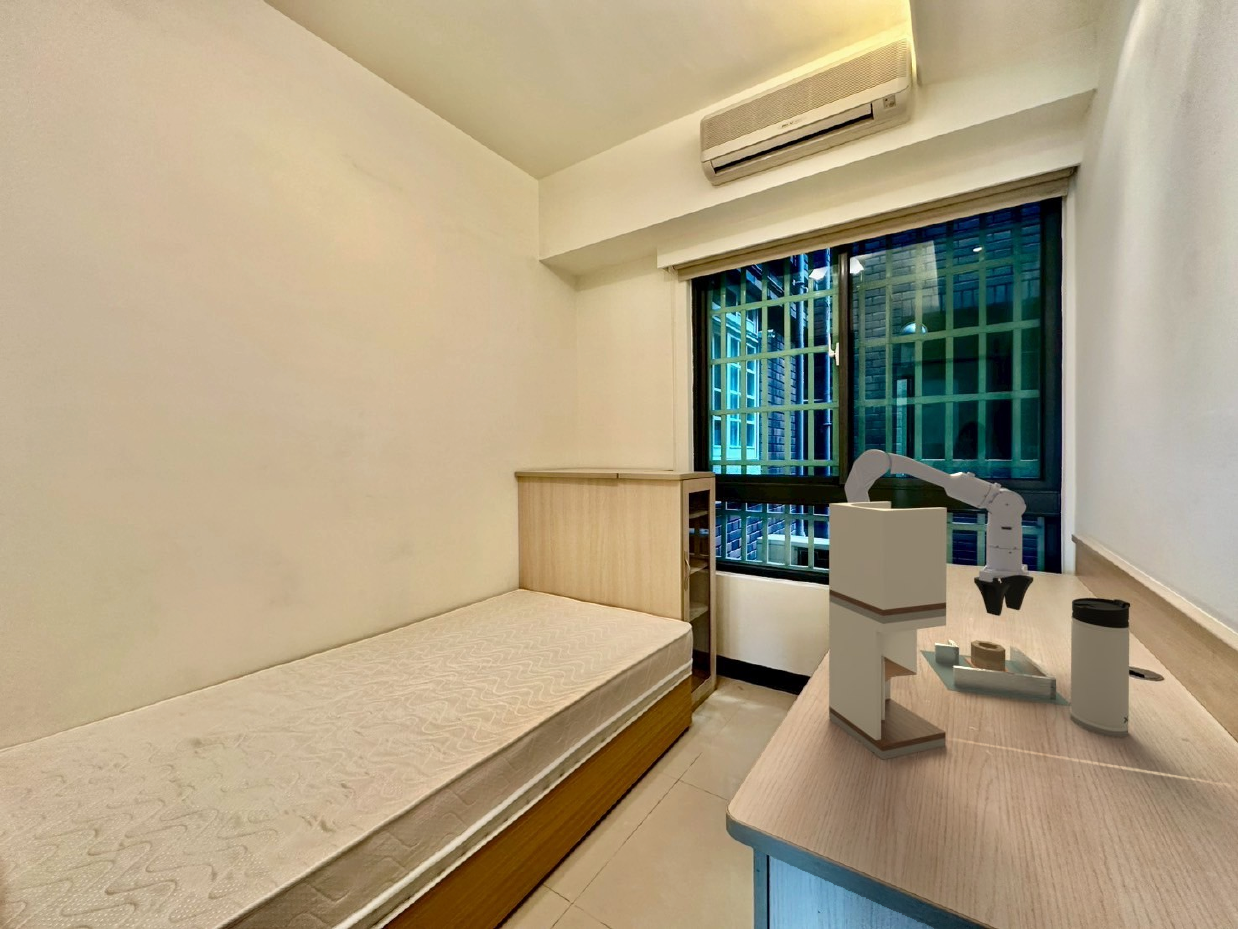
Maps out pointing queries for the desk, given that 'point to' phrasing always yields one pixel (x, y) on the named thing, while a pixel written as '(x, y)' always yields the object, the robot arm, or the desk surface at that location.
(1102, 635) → the travel mug
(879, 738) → the cream shelf tower
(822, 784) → the desk surface
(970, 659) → the pad
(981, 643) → the oak ring
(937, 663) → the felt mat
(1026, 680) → the metal walled tray
